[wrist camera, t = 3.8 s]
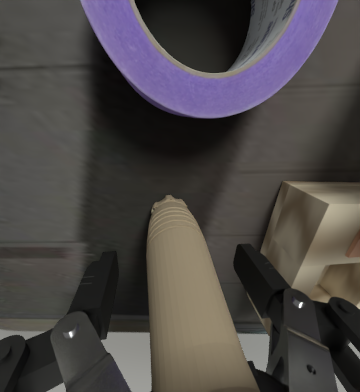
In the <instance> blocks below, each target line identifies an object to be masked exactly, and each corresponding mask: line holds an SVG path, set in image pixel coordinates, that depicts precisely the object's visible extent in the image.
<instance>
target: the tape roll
mask: <svg viewBox="0 0 360 392" xmlns="http://www.w3.org/2000/svg"><path fill="white" fill-rule="evenodd" d="M80 2H81V4H82V7H83V9H84V12H85V14H86V16H87V18H88V20H89V22H90V25H91V27H92V29H93V30H94V32H95V34H96V36H97V38H98V40H99V41H100V43H101V45H102V46H103V48H104V50H105V51H106V53H107V54H108V56H109V57H110V59H111V60H112V61H113V63H114V64H115V65H116V67H117V68H118V69H119V71H120V72H121V73H122V75H123V76H124V77H125V79H126V80H127V81H128V83H129V84H130V85H131V86H132V87H133V89H134V90H135V91H136V92H137V93H138V94H139V95H140V96H142V97H143V98H144V99H145V100H147V101H148V102H149V103H151V104H152V105H154V106H155V107H157V108H159V109H161V110H163V111H166V112H168V113H171V114H175V115H179V116H185V117H192V118H222V117H227V116H231V115H235V114H238V113H241V112H244V111H246V110H249V109H251V108H253V107H255V106H257V105H259V104H260V103H262V102H264V101H265V100H267V99H268V98H270V97H271V96H273V95H274V94H275V93H276V92H277V91H278V90H280V89H281V88H282V87H283V86H284V85H285V84H286V83H287V82H288V81H289V80H290V79H291V78H292V77H293V76H294V75H295V73H296V72H297V71H298V70H299V69H300V68H301V66H302V65H303V64H304V62H305V61H306V60H307V58H308V57H309V55H310V54H311V53H312V51H313V50H314V48H315V46H316V45H317V43H318V41H319V40H320V38H321V36H322V34H323V32H324V31H325V29H326V27H327V24H328V22H329V20H330V18H331V16H332V14H333V12H334V9H335V7H336V5H337V2H338V0H251V18H250V26H249V30H248V34H247V38H246V41H245V43H244V46H243V48H242V51H241V52H240V54H239V56H238V58H237V59H236V61H235V62H234V64H233V65H232V66H231V68H230V69H229V70H228V71H227V72H225V73H205V72H200V71H196V70H193V69H191V68H189V67H186V66H185V65H183V64H181V63H180V62H178V61H177V60H175V59H174V58H172V57H171V56H170V55H169V54H168V53H167V52H166V51H165V50H164V49H163V48H162V47H161V46H160V45H159V44H158V42H157V41H156V40H155V39H154V37H153V36H152V34H151V33H150V31H149V30H148V28H147V27H146V25H145V23H144V22H143V20H142V18H141V16H140V14H139V11H138V9H137V7H136V4H135V2H134V0H80Z"/></svg>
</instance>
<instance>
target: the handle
mask: <svg viewBox="0 0 360 392" xmlns="http://www.w3.org/2000/svg"><path fill="white" fill-rule="evenodd" d="M151 214H152V215H151V219H150V223H149V229H148V236H147V254H146V259H147V280H148V300H149V323H150V349H151V374H152V390H153V392H260V390H259V388H258V385H257V383H256V381H255V379H254V376H253V374H252V372H251V370H250V367H249V365H248V363H247V360H246V358H245V356H244V353H243V350H242V348H241V345H240V341H239V339H238V336H237V333H236V330H235V327H234V324H233V321H232V318H231V316H230V313H229V310H228V307H227V304H226V301H225V298H224V295H223V292H222V290H221V287H220V284H219V280H218V277H217V274H216V271H215V268H214V265H213V262H212V259H211V256H210V253H209V250H208V247H207V244H206V242H205V239H204V237H203V235H202V232H201V230H200V228H199V226H198V224H197V222H196V220H195V219H194V217H193V215H192V214H191V213H190V211H189V210H188V209H187V205H186V204H185V202H184V201H183V200H182V199H175V198H173V197H172V196H171V195H166V196H165V198H164V199H163V200H161V201H159V202H155V203H154V205H153V207H152V211H151Z"/></svg>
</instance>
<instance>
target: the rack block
mask: <svg viewBox="0 0 360 392" xmlns="http://www.w3.org/2000/svg"><path fill="white" fill-rule="evenodd" d="M260 253H262V254H263V255H264V256H266V258H267V259H268V260H269V261H270V263H271V264H272V265H273V266H274V268H275V269H276V270H277V271H278V272H279V273H280V275H281V276H282V277H283V278H284V279H285V281H286V282H287V283H288V284H289V285H290V287H291V288H293V289H297V290H299V291H301V292H303V293H304V294H306V295H307V296H308V297H309V298H310V299H311V300H314V301H319V302H324V303H328V301H329V299H330V298H331V297H340V298H343V299H345V300H347V301H349V302H351V303H352V304H354V305H355V306H356V307H357V308H358V309H360V182H306V181H283V182H282V185H281V188H280V191H279V194H278V197H277V201H276V204H275V207H274V210H273V213H272V216H271V219H270V222H269V226H268V229H267V232H266V235H265V238H264V241H263V244H262V247H261V251H260ZM247 296H248V298H249V299H250V301H251V303H252V305H253V307H254V309H255V311H256V312H257V314H258V316H259V318H260V320H261V322H262V324H263V326H264V327H265V329H266V331H267V333H268V335H269V336H270V326H271V322H272V321H271V320H270V318H264V319H262V318H261V316H260V315H259V313H258V311H257V309H256V307H255V306H254V304H253V302H252V300H251V298H250V297H249V295H248V293H247Z"/></svg>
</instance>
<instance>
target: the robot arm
mask: <svg viewBox="0 0 360 392" xmlns="http://www.w3.org/2000/svg"><path fill="white" fill-rule="evenodd" d="M234 269H235V271H236V273H237V275H238V277H239V278H240V280H241V282H242V284H243V286H244V287H245V289H246V291H247V293H248V295H249V297H250V298H251V300H252V302H253V304H254V306H255V307H256V309H257V311H258V313H259V315H260V316H261V318H262V319H264V318H270V320H271V321H272V322H271V326H270V342H269V357H268V364H267V368H266V372H263V371H260V370H258V369H255V366H254V364H253V361H247V363H248V365H249V367H250V370H251V372H252V374H253V376H254V379H255V381H256V383H257V385H258V388H259V390H260V392H338V389H337V385H336V380H335V375H336V376H337V378H338V379H339V381H340V382H341V384H342V385H343V386H344V388H345V389H346V391H347V392H360V359H359V358H358V357H357V355H356V354H355V353H354V352H353V351H352V349H351V348H350V347H349V346H348V344H349V343H350V342H351V343H352V344H353V345H354V346H355V347H356V349H357V350H358V351H359V352H360V309H358V308H357V307H356V306H355V305H354V304H352V303H351V302H349V301H347V300H345V299H343V298H340V297H331V298H330V299H329V301H328V303H324V302H319V301H314V300H311V299H310V298H309V297H308V296H307V295H306V294H304V293H303V292H301V291H299V290H297V289H293V288H291V287H290V285H289V284H288V283H287V282H286V281H285V279H284V278H283V277H282V276H281V275H280V273H279V272H278V271H277V270H276V269H275V268H274V266H273V265H272V264H271V263H270V261H269V260H268V259H267V258H266V256H264V255H263V254H262V253H260V252H259V251H255V249H254V248H253V247H252V246H251V244H238V245H237V248H236V253H235V257H234ZM118 276H119V269H118V261H117V253H116V251H112V252H103V253H102V256H101V258H100V261H94V262H92V263H91V264H90V265H89V266H88V268H87V269H86V271H85V273H84V276H83V278H82V280H81V283H80V285H79V287H78V290H77V292H76V294H75V297H74V299H73V301H72V304H71V306H70V309H69V311H68V313H67V315H66V316H64V317H63V318H62V319H60V320H59V321H58V322H57V323H56V325H55V326H54V328H52V329H50V330H49V331H47V332H44V333H42V334H40V335H37V336H35V337H32V338H30V339H28V340H25V339H24V338H23V337H22V336H20V335H12V336H9V337H6V338H4V339H2V340H0V392H46V391H48V390H50V389H52V388H54V387H55V386H57V385H59V384H61V383H63V382H64V384H65V387H66V392H131V390H130V388H129V386H128V385H127V383H126V381H125V379H124V378H123V375H122V374H121V372H120V370H119V368H118V366H117V364H116V362H115V361H114V359H113V357H112V356H111V354H110V353H107V351H106V350H105V348H104V346H103V344H102V342H101V340H102V339H106V337H107V333H108V328H109V323H110V318H111V313H112V308H113V303H114V298H115V293H116V288H117V283H118ZM334 373H335V375H334ZM151 392H153V390H152V391H151Z"/></svg>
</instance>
